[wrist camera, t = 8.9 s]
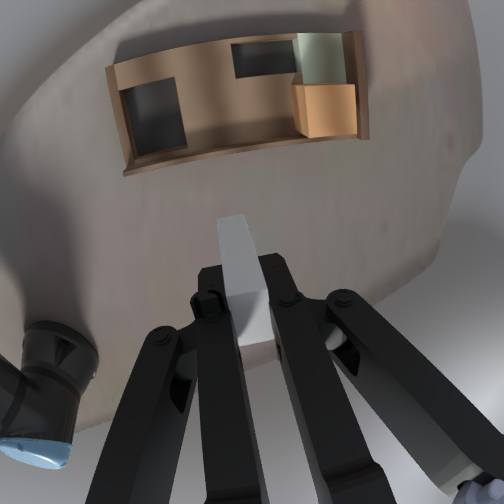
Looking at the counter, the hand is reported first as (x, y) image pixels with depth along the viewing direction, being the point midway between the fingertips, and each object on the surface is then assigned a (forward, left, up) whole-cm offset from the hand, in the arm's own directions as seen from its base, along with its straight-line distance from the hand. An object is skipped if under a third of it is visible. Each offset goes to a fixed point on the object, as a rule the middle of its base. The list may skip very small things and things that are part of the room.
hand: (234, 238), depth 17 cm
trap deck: (+3, +7, -20) cm, 22 cm away
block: (+11, +4, -18) cm, 21 cm away
